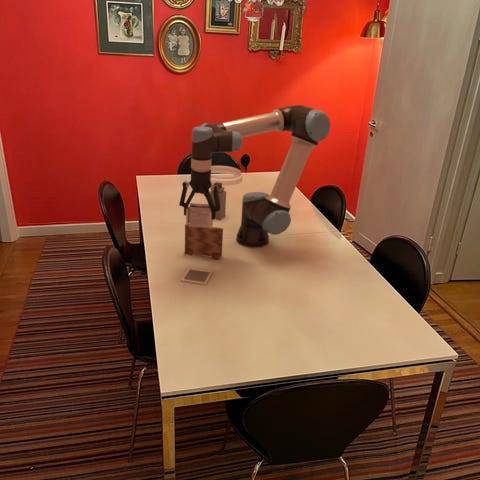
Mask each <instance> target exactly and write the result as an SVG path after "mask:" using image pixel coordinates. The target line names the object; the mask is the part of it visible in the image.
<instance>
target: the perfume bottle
mask: <svg viewBox="0 0 480 480" xmlns="http://www.w3.org/2000/svg"><path fill="white" fill-rule="evenodd" d="M214 185H218V186H219V188H218V195H219V201H220V207H221V208H220V210H219V211H216V214H215V219H214V220H217V221H220V220H222V219H223V218H225V216H226V210H227V209H226V208H227V207H226V206H227V205H226V204H227V203H226V202H227V191H226V190H225V186H222V183H218V182H216V183H214ZM209 192H210V195H211V198H212V200H213V203H214V205H215V201H214V195H213V190H212V188H211V187H210V191H209ZM210 211H211V209H210Z"/></svg>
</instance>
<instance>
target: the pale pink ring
mask: <svg viewBox="0 0 480 480" xmlns="http://www.w3.org/2000/svg"><path fill="white" fill-rule="evenodd" d="M210 170H211V174H216V173H217V174H218V173H219V174H227V175H233V176H215V175H211V184H212V185H214V183H216V182H218V183H222V187H225V186H233V185H237V184H240V183H242V182H243V174H242V171H241V170H240V169H239V168H236V167H234V166H228V165H211V169H210Z"/></svg>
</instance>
